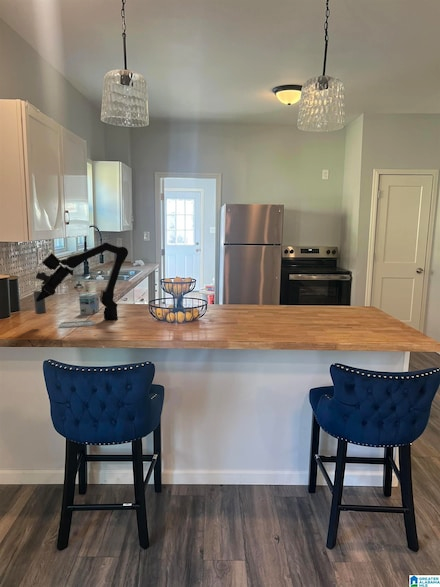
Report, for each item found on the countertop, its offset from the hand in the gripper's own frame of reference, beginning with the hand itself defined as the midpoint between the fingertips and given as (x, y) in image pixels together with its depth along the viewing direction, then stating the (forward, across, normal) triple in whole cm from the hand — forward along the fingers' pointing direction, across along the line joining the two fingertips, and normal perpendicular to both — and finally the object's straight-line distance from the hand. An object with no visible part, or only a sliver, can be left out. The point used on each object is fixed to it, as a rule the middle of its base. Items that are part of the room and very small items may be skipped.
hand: (36, 300), depth 205 cm
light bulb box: (-9, -24, +29) cm, 39 cm away
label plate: (-3, +4, +22) cm, 22 cm away
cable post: (+4, 0, +6) cm, 7 cm away
